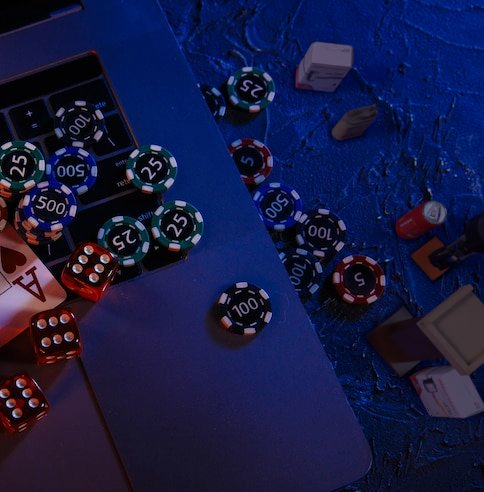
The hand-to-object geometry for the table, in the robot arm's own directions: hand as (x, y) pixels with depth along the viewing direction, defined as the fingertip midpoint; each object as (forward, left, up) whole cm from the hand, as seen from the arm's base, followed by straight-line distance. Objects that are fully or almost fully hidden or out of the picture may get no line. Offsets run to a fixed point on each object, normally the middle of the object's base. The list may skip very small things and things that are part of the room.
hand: (449, 249), depth 120 cm
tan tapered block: (-5, -32, -8) cm, 33 cm away
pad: (0, 0, -7) cm, 7 cm away
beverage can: (0, -8, -8) cm, 11 cm away
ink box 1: (-7, -45, -8) cm, 46 cm away
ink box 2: (+19, +20, -8) cm, 28 cm away
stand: (+17, +9, -7) cm, 20 cm away
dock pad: (+17, +9, +15) cm, 25 cm away
